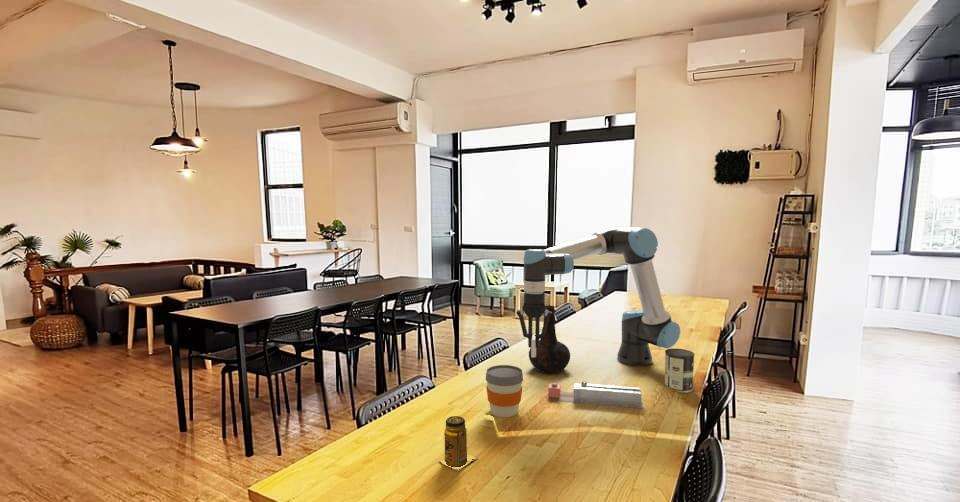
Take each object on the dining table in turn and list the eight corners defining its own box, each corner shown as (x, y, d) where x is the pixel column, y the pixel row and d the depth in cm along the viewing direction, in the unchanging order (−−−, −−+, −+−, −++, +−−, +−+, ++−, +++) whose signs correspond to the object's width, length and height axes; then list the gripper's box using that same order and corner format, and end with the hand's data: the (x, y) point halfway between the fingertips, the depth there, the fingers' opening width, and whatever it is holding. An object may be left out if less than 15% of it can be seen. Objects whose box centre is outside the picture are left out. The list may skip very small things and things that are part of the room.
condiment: (438, 462, 122) (437, 420, 121) (459, 450, 129) (458, 409, 128) (457, 472, 118) (457, 428, 117) (478, 459, 124) (478, 417, 123)
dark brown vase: (552, 380, 182) (552, 312, 180) (520, 369, 195) (520, 305, 193) (578, 370, 194) (579, 306, 191) (546, 360, 207) (547, 300, 205)
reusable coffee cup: (526, 409, 155) (527, 366, 154) (517, 425, 144) (517, 379, 142) (492, 404, 159) (492, 363, 158) (480, 419, 148) (480, 375, 146)
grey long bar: (573, 396, 163) (574, 383, 162) (639, 402, 158) (639, 388, 157) (573, 402, 158) (573, 388, 157) (641, 408, 153) (641, 394, 152)
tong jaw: (581, 396, 162) (581, 381, 161) (639, 401, 158) (639, 385, 157) (581, 399, 160) (581, 383, 159) (640, 403, 156) (640, 387, 155)
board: (548, 393, 169) (548, 390, 169) (641, 401, 161) (641, 398, 161) (546, 403, 160) (546, 400, 160) (644, 412, 152) (644, 409, 152)
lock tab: (549, 392, 166) (549, 381, 165) (560, 393, 165) (560, 382, 164) (548, 397, 162) (548, 385, 161) (559, 398, 161) (559, 386, 160)
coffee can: (689, 383, 178) (690, 348, 177) (696, 393, 168) (697, 357, 167) (661, 381, 180) (662, 347, 179) (667, 391, 170) (668, 355, 169)
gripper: (514, 293, 160) (514, 358, 162) (551, 294, 157) (550, 360, 159) (517, 289, 167) (517, 351, 169) (553, 291, 164) (552, 354, 166)
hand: (533, 356), depth 164 cm, fingers closed
